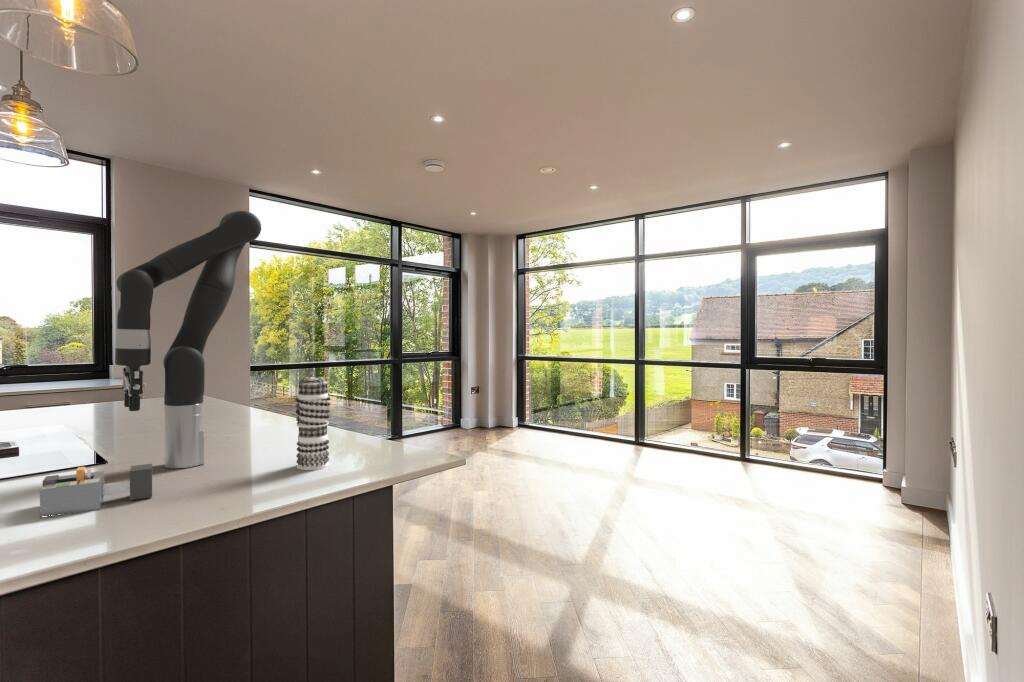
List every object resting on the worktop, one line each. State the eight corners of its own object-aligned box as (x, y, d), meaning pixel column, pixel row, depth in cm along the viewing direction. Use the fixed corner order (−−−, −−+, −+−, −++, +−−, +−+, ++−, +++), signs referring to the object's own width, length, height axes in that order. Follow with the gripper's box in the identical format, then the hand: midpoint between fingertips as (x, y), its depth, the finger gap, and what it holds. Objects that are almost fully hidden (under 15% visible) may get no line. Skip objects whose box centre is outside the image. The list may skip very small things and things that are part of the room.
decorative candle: (326, 469, 141) (327, 379, 140) (291, 470, 139) (291, 379, 138) (333, 461, 150) (333, 375, 149) (299, 462, 148) (300, 375, 147)
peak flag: (85, 498, 113) (85, 466, 112) (84, 501, 110) (83, 469, 110) (78, 499, 112) (78, 467, 112) (76, 502, 110) (76, 470, 109)
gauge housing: (104, 496, 117) (104, 466, 117) (100, 509, 109) (99, 477, 109) (49, 503, 112) (48, 472, 112) (40, 518, 104) (39, 484, 103)
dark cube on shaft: (152, 491, 120) (152, 459, 120) (152, 497, 116) (151, 464, 116) (89, 499, 114) (88, 466, 114) (86, 506, 110) (86, 471, 109)
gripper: (155, 348, 131) (154, 411, 131) (146, 345, 141) (144, 404, 142) (118, 347, 126) (117, 413, 126) (111, 345, 136) (110, 406, 136)
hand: (131, 408), depth 134 cm, fingers open, 8 cm apart
